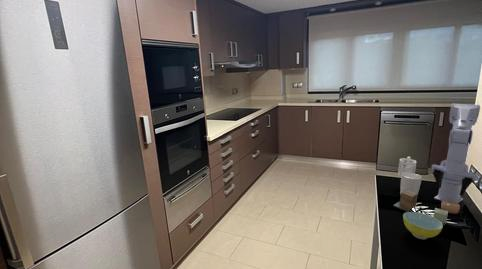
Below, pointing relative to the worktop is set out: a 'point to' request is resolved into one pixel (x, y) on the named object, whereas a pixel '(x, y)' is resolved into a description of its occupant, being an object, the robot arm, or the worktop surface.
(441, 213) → the sage cube
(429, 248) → the worktop surface
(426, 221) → the bowl
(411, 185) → the white cup
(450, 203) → the brown rounded disc
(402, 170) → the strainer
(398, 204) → the plate
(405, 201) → the walnut block
